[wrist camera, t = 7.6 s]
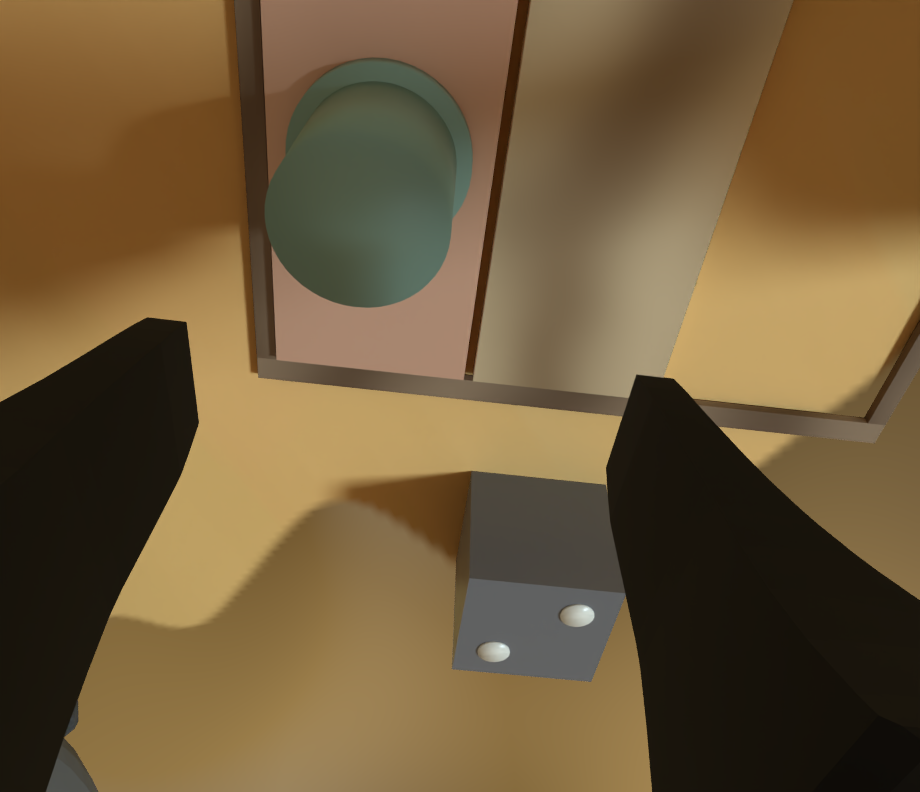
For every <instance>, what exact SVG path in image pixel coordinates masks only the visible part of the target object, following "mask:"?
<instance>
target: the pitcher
mask: <svg viewBox="0 0 920 792" xmlns="http://www.w3.org/2000/svg"><path fill="white" fill-rule="evenodd" d="M77 723H78V701H77V703H76V706H75V708H74V711H73V714H72V717H71V719H70V722H69V725H68V728H67V730H66V733H65V736H66V735H67V734H69V733H70V732H71V731H72V730H73V729H75V727H76V725H77ZM65 736H64V737H65ZM46 792H98V790H97V788H96V786H95V784H94V782H93V780H92V778H91V777H90V775H89V773H88V772H87V770H86V768H85V766H84V765H83V763H82V761H81V760H80V758H79V756H78V755H77V753H76V751H75V750H74V749H73V747H72V746H71V745H70V744H69V743H68V742H67V741H66V740H65V739H63V742H62V745H61V748H60V751H59V754H58V757H57V760H56V763H55V766H54V769H53V772H52V775H51V778H50V781H49V784H48V787H47V790H46Z"/></svg>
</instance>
